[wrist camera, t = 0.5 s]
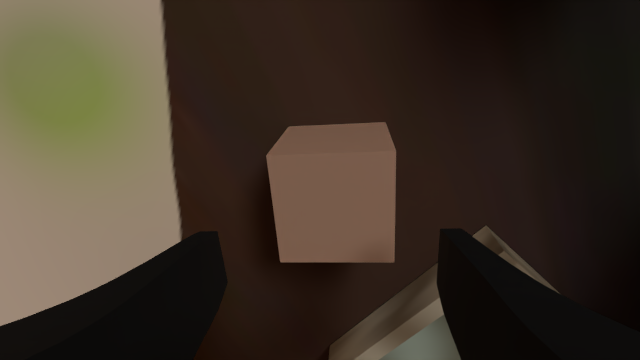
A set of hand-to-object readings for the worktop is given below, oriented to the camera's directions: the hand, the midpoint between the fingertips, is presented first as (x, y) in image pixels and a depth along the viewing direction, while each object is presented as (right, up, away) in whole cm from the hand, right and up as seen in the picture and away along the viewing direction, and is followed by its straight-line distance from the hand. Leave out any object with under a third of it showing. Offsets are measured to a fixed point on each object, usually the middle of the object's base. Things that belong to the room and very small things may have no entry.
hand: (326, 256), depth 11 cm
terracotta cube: (+1, +3, +8) cm, 8 cm away
